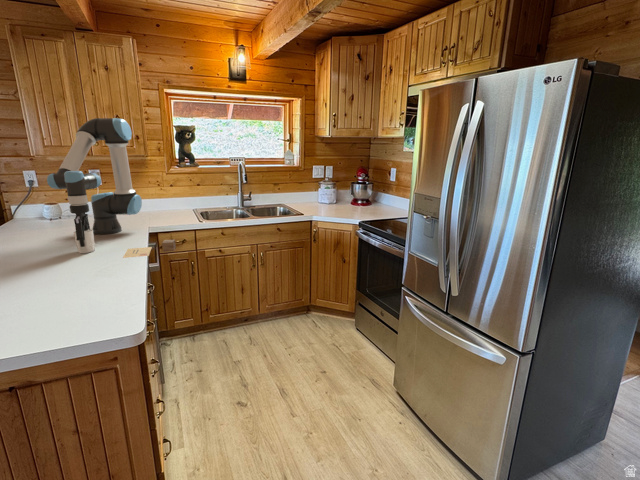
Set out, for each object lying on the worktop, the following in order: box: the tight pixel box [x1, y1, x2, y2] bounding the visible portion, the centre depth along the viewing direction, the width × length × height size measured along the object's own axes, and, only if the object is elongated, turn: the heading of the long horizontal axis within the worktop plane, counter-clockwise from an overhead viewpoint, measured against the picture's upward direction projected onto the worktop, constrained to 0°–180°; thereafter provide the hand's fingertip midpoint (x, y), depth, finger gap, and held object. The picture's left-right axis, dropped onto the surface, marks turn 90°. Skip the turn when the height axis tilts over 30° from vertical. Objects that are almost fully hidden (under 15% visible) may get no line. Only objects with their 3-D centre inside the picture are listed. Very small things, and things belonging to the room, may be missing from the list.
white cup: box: [73, 228, 95, 254], centre depth 176 cm, size 8×8×10 cm
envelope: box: [122, 246, 153, 259], centre depth 175 cm, size 16×11×1 cm
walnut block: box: [161, 239, 177, 253], centre depth 179 cm, size 5×5×5 cm
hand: (86, 250), depth 177 cm, fingers closed on white cup, 8 cm apart
